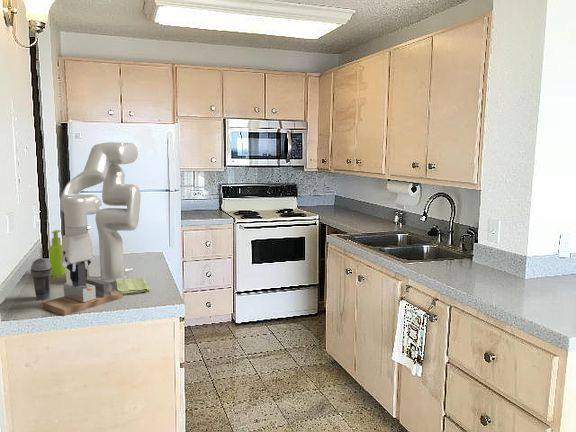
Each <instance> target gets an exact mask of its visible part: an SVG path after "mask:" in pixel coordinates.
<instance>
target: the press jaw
mask: <svg viewBox="0 0 576 432" xmlns="http://www.w3.org/2000/svg"><path fill="white" fill-rule="evenodd" d="M76 271H77V278H78V281H77V282H74V281H72V282H68V283H67V282H65V283H63V294H64V295H63V297H68V298H71V299H74V300H77V301H80V302H87V301H90V300H94V299H96V291H95V286H94V285H91V284H87V283H86V271H85V263H81V262H77V263H76Z"/></svg>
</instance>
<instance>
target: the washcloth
mask: <svg viewBox="0 0 576 432" xmlns="http://www.w3.org/2000/svg"><path fill="white" fill-rule="evenodd" d="M113 286H114V287H115V291H118V292H122V293H123V296H126V295H134V294H140V293H141V294H142V293H149V292H151V291H150V287H149V285H148V283H147V281H146V279H145V278H144V277H132V278H128V279H116V280H115V282H114V283H113Z"/></svg>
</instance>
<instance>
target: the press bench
mask: <svg viewBox="0 0 576 432" xmlns="http://www.w3.org/2000/svg"><path fill="white" fill-rule="evenodd" d="M86 283H87V284H91V285H94V286H95V291H96V299H94V300H90V301H87V302H80V301H77V300H74V299H71V298H68V297H64V296H61V297H56V298H53V299H48V300H44V301H42V302H41V307H42V308H43V309H45V310H47V311H51V312H53V313H57V314H60V315H62V316H68V315H71V314H74V313H75V314H76V313H78V312H81V311H85V310H87V309H90V308H93V307H97V306H100V305H104V304H108V303H110V302H111V303H112V302H113V301H116V300H117V301H118V300H121V299H124V295H123V293H122V292H118V291H116V290H114V289H112V287H111V285H112V284H111V283H110V282H107V281H103V280H99V279H97V278H94V277H89V278H87V279H86Z"/></svg>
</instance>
